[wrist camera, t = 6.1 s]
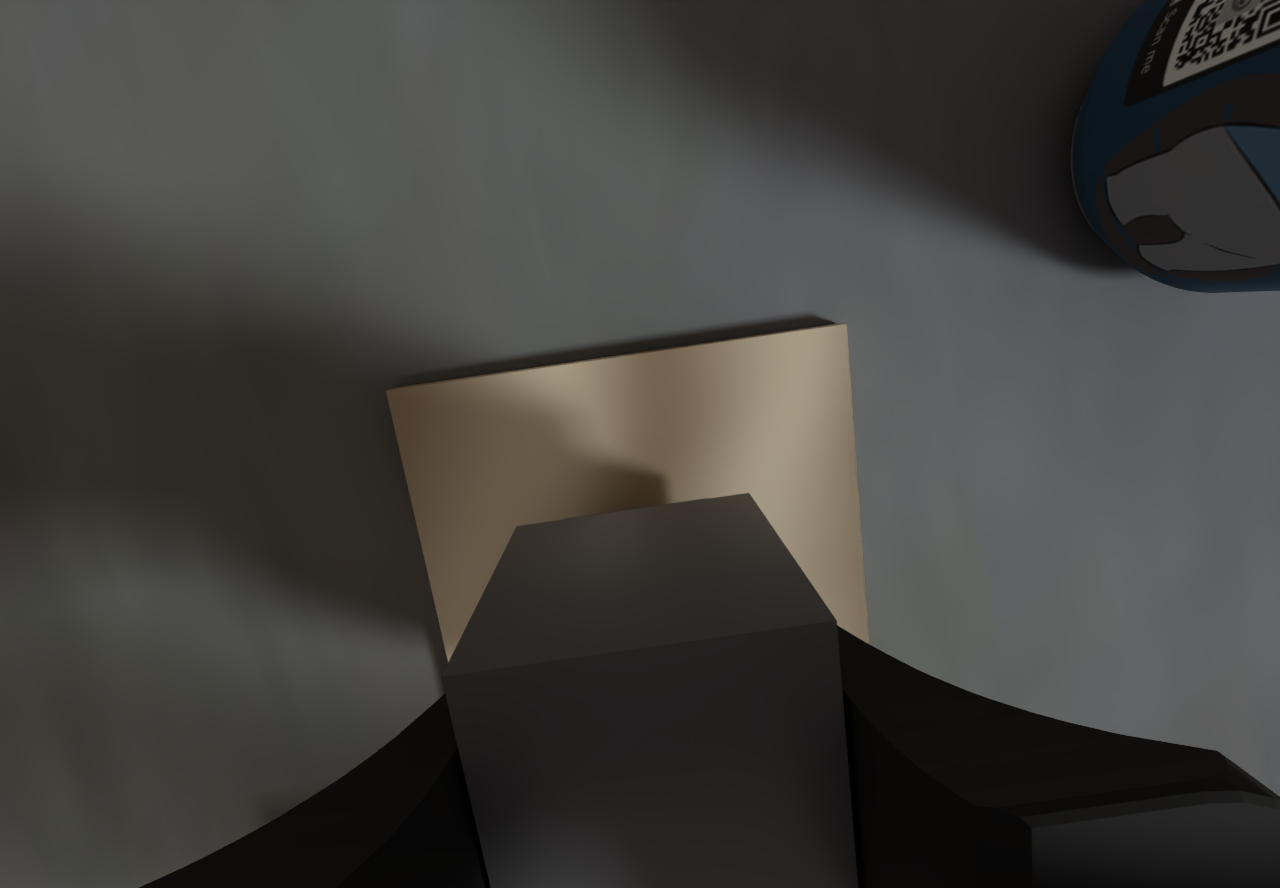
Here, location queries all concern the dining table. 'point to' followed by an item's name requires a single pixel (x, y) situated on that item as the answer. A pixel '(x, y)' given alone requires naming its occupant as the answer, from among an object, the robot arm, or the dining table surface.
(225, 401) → the dining table surface
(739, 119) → the dining table surface
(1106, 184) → the soda can
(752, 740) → the block
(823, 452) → the pad
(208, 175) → the dining table surface
